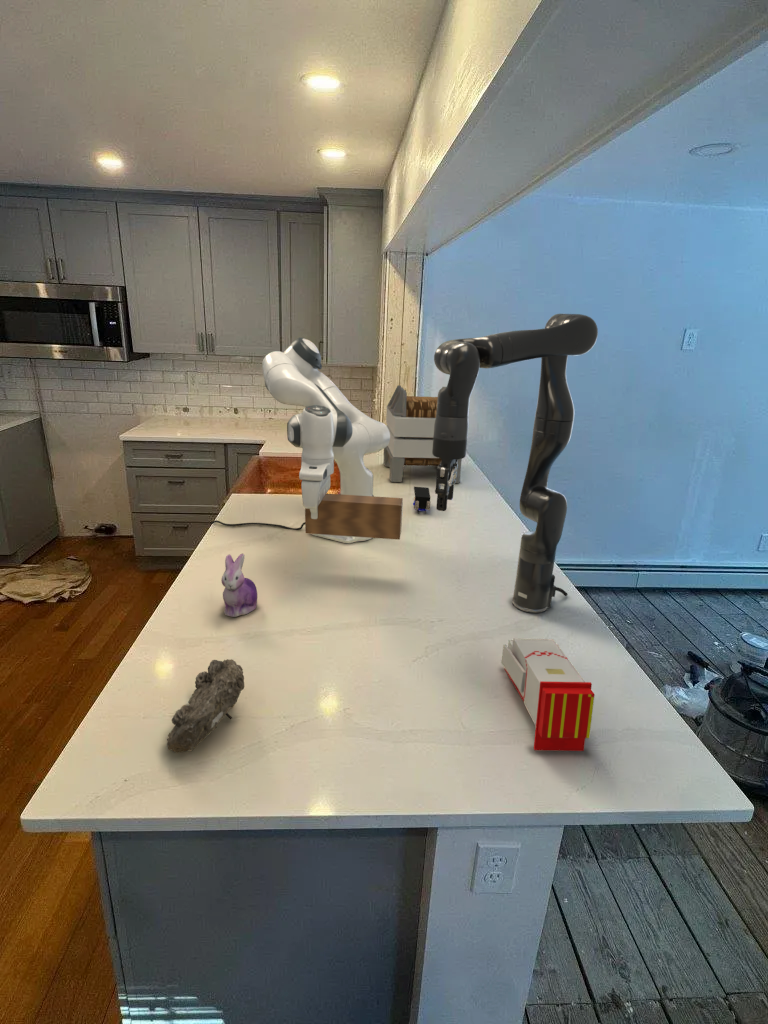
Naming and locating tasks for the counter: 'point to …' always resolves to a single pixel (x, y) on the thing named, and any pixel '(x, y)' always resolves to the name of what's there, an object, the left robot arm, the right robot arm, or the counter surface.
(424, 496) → the figurine character
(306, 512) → the box
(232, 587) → the figurine
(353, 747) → the counter surface
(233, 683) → the fossil
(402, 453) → the grey boxy stand
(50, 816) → the counter surface
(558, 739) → the toy
